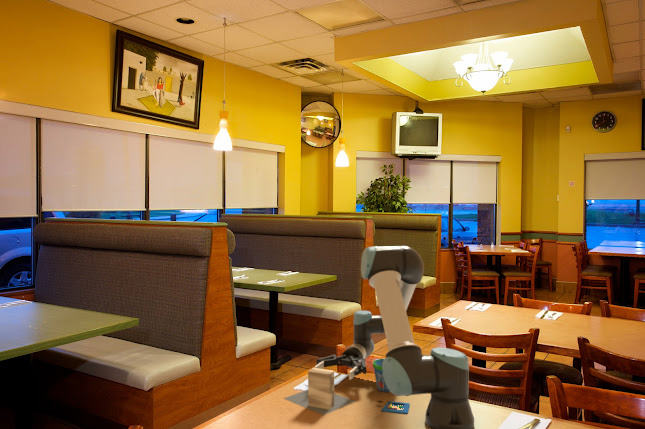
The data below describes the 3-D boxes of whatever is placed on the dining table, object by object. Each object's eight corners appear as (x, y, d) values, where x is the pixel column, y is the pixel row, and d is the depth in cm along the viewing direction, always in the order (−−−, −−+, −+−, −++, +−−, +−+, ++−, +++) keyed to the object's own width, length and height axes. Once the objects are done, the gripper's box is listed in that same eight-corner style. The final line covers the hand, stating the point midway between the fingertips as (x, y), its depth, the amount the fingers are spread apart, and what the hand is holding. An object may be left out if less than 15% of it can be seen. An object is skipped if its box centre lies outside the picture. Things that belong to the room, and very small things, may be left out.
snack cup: (370, 381, 198) (370, 356, 198) (397, 381, 198) (397, 355, 198) (375, 397, 182) (375, 369, 182) (404, 397, 183) (404, 369, 182)
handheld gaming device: (367, 398, 180) (409, 402, 176) (367, 401, 180) (409, 405, 176) (363, 407, 172) (407, 412, 168) (363, 410, 172) (407, 415, 168)
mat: (355, 402, 178) (355, 401, 178) (323, 416, 166) (323, 415, 166) (315, 388, 192) (315, 386, 192) (283, 400, 180) (283, 398, 180)
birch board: (313, 401, 178) (313, 367, 177) (334, 405, 174) (334, 370, 174) (308, 405, 174) (308, 371, 174) (329, 409, 171) (329, 374, 170)
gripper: (383, 369, 197) (364, 388, 178) (325, 360, 208) (301, 378, 188) (383, 350, 197) (364, 367, 178) (325, 342, 207) (301, 358, 188)
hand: (332, 373), depth 183 cm, fingers open, 13 cm apart
